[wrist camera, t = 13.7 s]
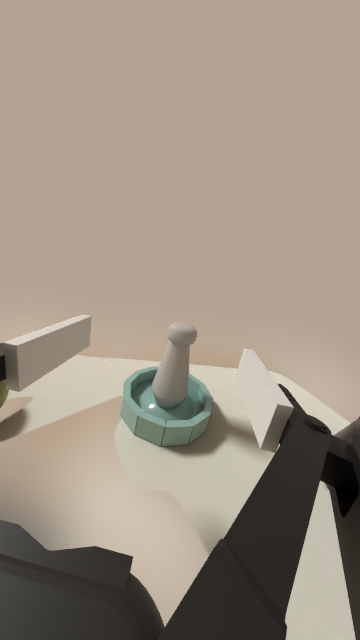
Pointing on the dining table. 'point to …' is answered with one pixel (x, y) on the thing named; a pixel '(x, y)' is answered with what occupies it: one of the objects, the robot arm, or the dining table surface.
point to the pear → (3, 392)
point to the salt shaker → (174, 367)
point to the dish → (164, 411)
